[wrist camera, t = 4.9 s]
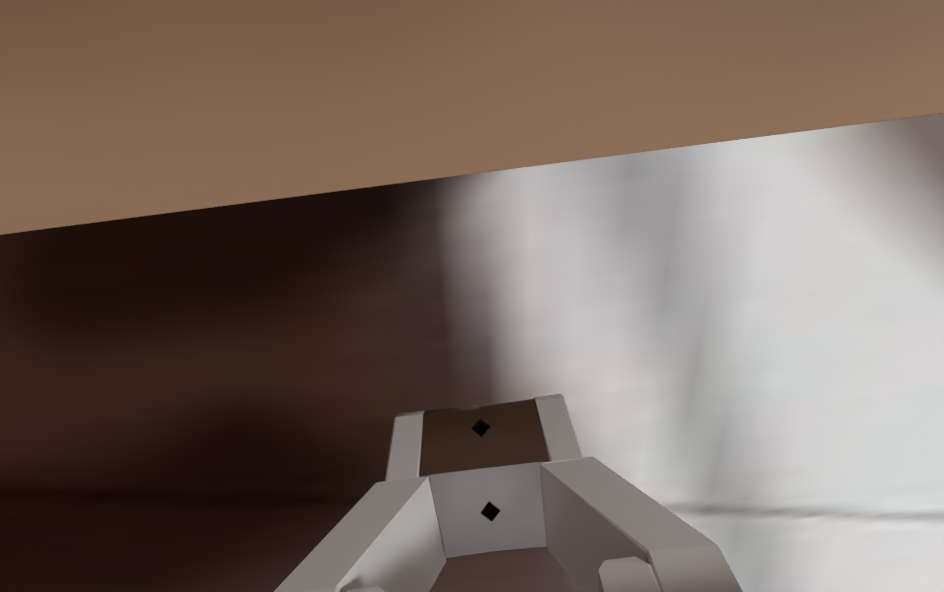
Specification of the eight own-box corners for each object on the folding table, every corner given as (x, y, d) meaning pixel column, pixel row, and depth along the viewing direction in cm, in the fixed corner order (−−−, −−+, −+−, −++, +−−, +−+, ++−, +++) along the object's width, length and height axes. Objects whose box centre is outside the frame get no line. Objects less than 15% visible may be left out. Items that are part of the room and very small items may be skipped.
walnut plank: (607, 71, 16) (947, 113, 5) (289, 113, 16) (-45, 239, 5) (607, -86, 14) (1122, -538, 3) (250, -38, 14) (-372, -316, 3)
